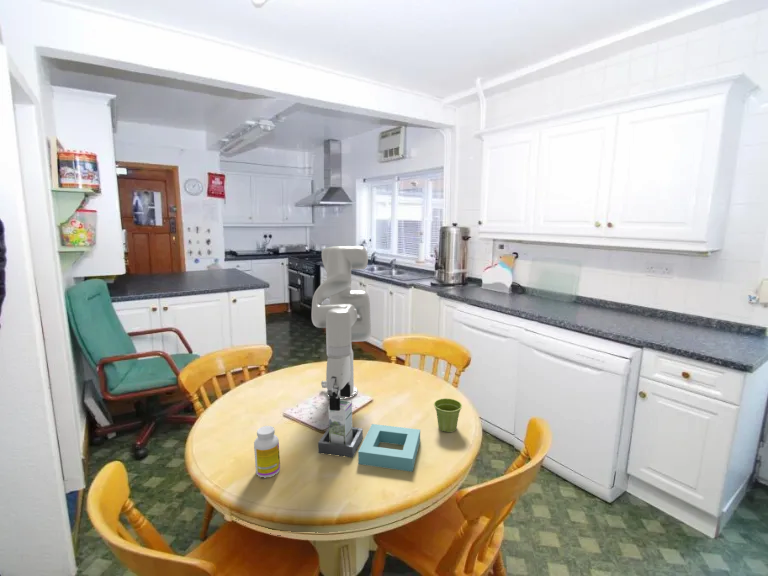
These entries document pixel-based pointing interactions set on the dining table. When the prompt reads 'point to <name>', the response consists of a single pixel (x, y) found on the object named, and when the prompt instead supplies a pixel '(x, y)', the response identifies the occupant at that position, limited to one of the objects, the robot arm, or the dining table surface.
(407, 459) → the socket block
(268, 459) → the supplement bottle
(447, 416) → the plant pot
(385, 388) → the dining table surface
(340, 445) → the box stand
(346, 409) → the syrup box
